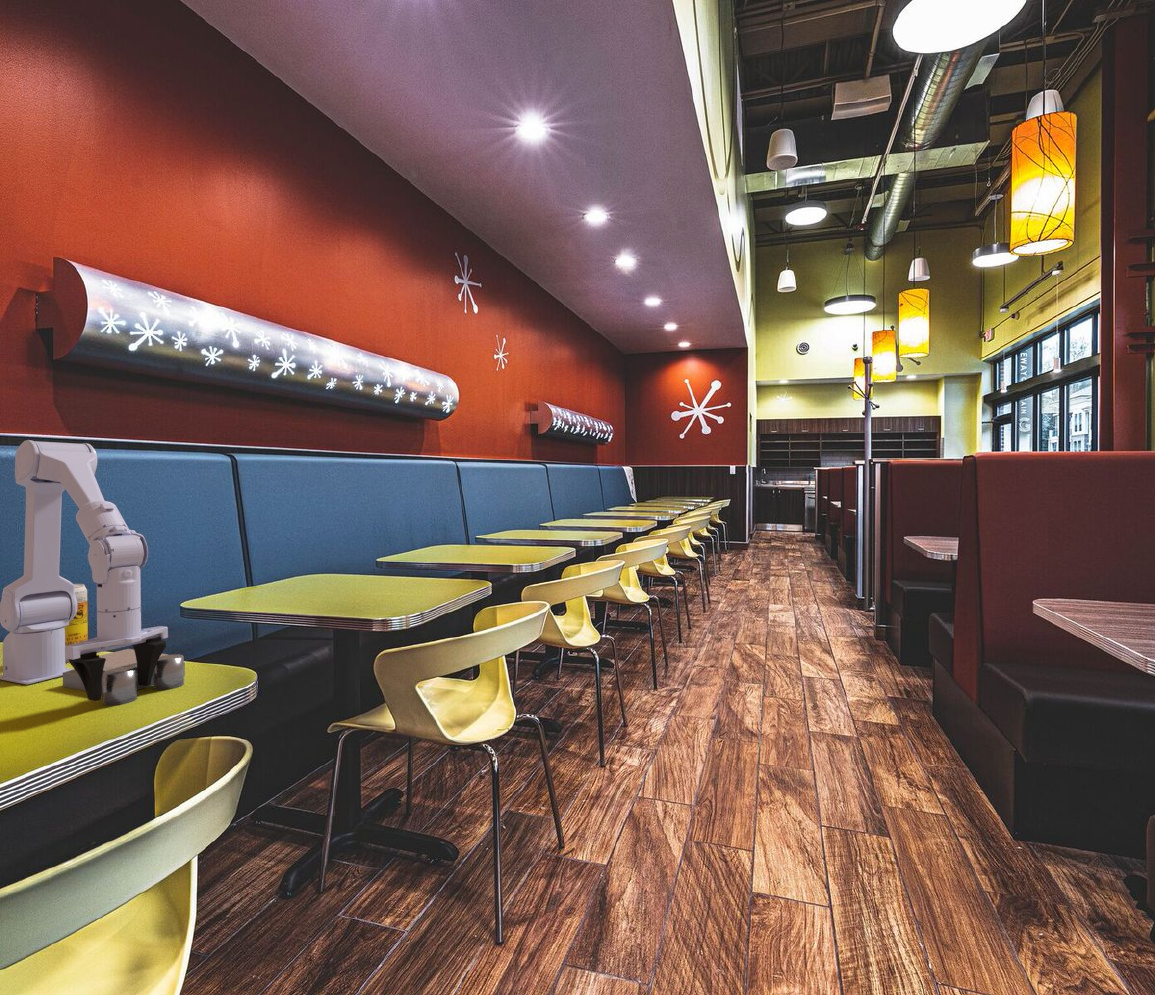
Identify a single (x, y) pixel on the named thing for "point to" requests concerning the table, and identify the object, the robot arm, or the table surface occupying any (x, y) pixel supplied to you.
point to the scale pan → (120, 659)
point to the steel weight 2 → (169, 672)
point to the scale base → (75, 682)
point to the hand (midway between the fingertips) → (120, 691)
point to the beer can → (78, 619)
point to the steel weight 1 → (119, 686)
